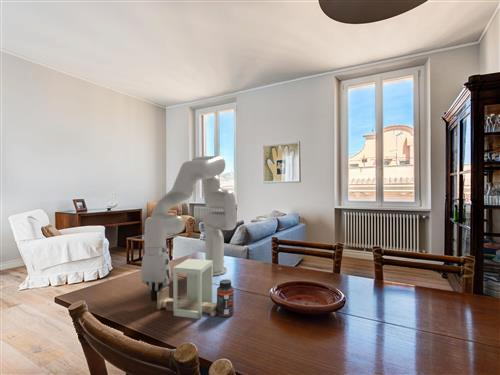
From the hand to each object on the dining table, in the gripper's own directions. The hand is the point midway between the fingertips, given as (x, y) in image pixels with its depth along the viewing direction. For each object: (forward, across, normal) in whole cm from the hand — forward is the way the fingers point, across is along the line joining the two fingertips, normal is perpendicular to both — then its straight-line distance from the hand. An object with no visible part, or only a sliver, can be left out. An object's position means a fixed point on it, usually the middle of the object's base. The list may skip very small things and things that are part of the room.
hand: (155, 299), depth 98 cm
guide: (+2, -8, 0) cm, 8 cm away
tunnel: (+2, -16, 0) cm, 16 cm away
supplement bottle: (+2, -27, 0) cm, 27 cm away
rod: (+2, -13, 0) cm, 13 cm away
